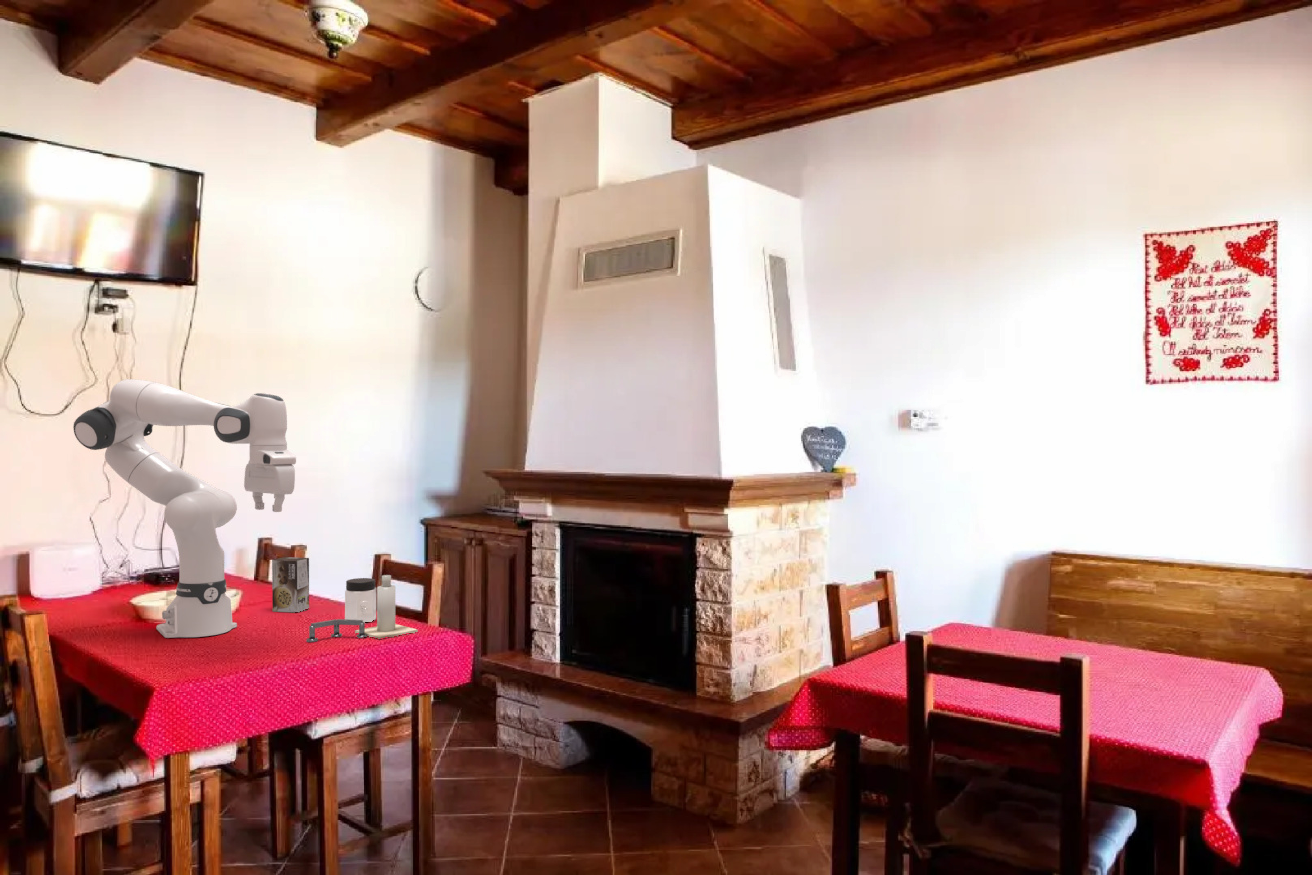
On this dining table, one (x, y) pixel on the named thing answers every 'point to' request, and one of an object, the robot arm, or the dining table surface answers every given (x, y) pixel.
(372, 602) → the jar
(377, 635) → the birch board
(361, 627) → the grey angled rail stand
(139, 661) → the dining table surface
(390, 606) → the stoneware bottle
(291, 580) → the coffee box
